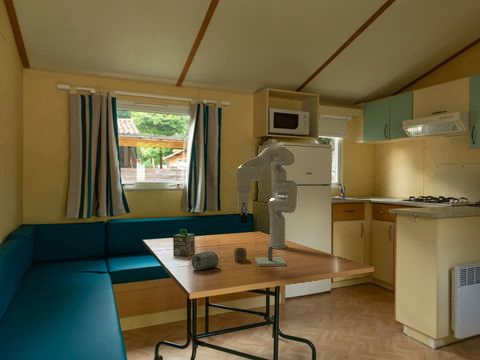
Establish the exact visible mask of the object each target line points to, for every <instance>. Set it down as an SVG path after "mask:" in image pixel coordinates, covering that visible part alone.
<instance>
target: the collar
mask: <svg viewBox="0 0 480 360" xmlns="http://www.w3.org/2000/svg"><path fill="white" fill-rule="evenodd" d="M233 249H234V254H233V256H234V257H233V259H234V262H236V263H239V262H242V263H243V262H246V263H247V249H246V247H234V248H233Z"/></svg>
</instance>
